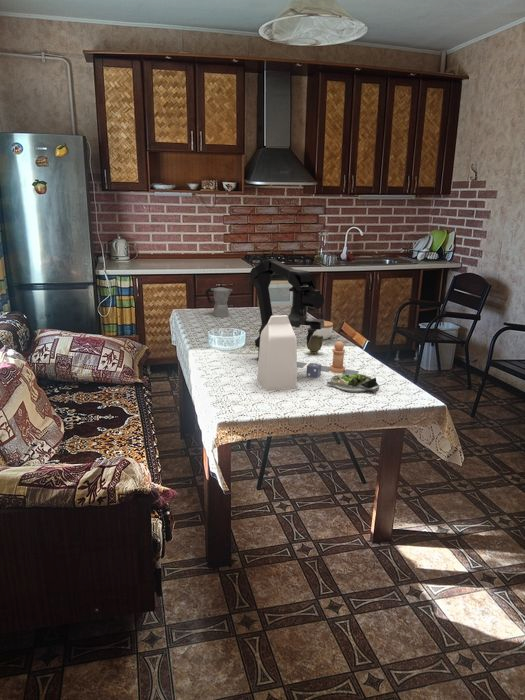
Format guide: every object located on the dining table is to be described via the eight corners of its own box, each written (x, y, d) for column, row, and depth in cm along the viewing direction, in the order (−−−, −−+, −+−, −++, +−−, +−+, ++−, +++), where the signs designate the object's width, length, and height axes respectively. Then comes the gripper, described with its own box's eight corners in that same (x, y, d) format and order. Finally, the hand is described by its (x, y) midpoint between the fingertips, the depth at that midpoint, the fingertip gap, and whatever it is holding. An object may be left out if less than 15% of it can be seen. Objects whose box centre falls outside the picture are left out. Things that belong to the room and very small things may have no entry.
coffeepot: (230, 313, 310) (231, 282, 305) (233, 317, 301) (234, 285, 296) (204, 313, 307) (204, 282, 302) (206, 317, 298) (206, 285, 293)
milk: (265, 390, 194) (268, 320, 186) (256, 379, 204) (259, 312, 197) (296, 388, 197) (300, 319, 189) (286, 377, 207) (290, 311, 200)
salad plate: (331, 395, 192) (332, 383, 191) (321, 378, 209) (321, 367, 208) (383, 395, 194) (385, 383, 193) (369, 378, 211) (370, 367, 210)
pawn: (335, 373, 213) (337, 344, 209) (326, 369, 218) (328, 340, 214) (347, 372, 216) (350, 342, 212) (339, 367, 221) (341, 338, 217)
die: (306, 377, 209) (306, 365, 208) (309, 373, 213) (310, 362, 212) (317, 378, 208) (318, 367, 206) (320, 375, 212) (321, 364, 210)
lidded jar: (315, 341, 258) (316, 322, 255) (306, 336, 268) (308, 317, 265) (335, 340, 261) (337, 321, 259) (326, 334, 271) (327, 316, 268)
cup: (321, 357, 235) (322, 339, 232) (304, 355, 236) (305, 338, 234) (322, 352, 242) (324, 335, 239) (306, 350, 243) (307, 333, 241)
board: (289, 366, 221) (289, 366, 220) (294, 361, 227) (294, 361, 227) (355, 376, 211) (355, 376, 211) (359, 371, 217) (359, 371, 217)
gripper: (269, 305, 201) (268, 345, 206) (317, 310, 195) (315, 351, 199) (279, 300, 211) (278, 339, 216) (325, 305, 205) (323, 344, 209)
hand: (297, 343), depth 210 cm, fingers open, 8 cm apart
